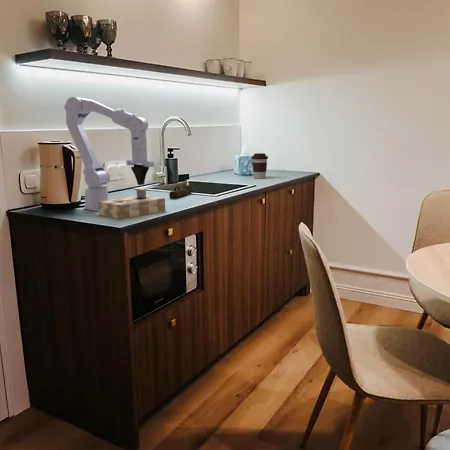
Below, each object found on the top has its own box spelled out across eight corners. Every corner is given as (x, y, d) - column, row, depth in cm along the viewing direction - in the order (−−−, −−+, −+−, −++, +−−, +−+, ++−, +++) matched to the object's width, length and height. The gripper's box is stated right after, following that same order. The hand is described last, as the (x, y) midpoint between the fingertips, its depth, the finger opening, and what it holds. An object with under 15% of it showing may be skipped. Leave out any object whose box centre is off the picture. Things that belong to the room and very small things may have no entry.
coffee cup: (248, 177, 290) (248, 153, 287) (262, 177, 294) (262, 152, 291) (256, 179, 281) (256, 154, 278) (270, 178, 285) (271, 153, 282)
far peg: (135, 200, 184) (134, 189, 183) (142, 199, 186) (141, 188, 186) (140, 201, 182) (140, 190, 181) (148, 200, 184) (147, 189, 183)
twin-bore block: (99, 214, 179) (98, 201, 178) (143, 206, 194) (142, 194, 193) (120, 219, 169) (120, 205, 168) (165, 210, 185) (164, 198, 184)
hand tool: (176, 200, 212) (176, 189, 211) (169, 199, 214) (168, 189, 213) (196, 194, 229) (195, 184, 228) (188, 193, 231) (188, 184, 230)
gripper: (119, 149, 182) (121, 184, 185) (142, 150, 172) (144, 187, 175) (134, 148, 187) (135, 182, 190) (157, 149, 177) (159, 185, 180)
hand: (140, 184), depth 183 cm, fingers closed
